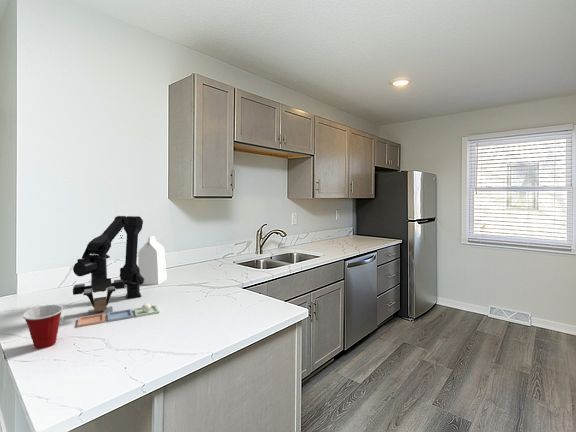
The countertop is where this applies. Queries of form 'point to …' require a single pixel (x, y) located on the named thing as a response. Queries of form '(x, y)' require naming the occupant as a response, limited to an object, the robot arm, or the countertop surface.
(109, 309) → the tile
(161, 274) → the milk
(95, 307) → the letter cube
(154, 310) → the dish sage
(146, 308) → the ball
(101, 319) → the dish terracotta
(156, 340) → the countertop surface
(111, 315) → the dish slate
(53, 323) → the plastic cup
